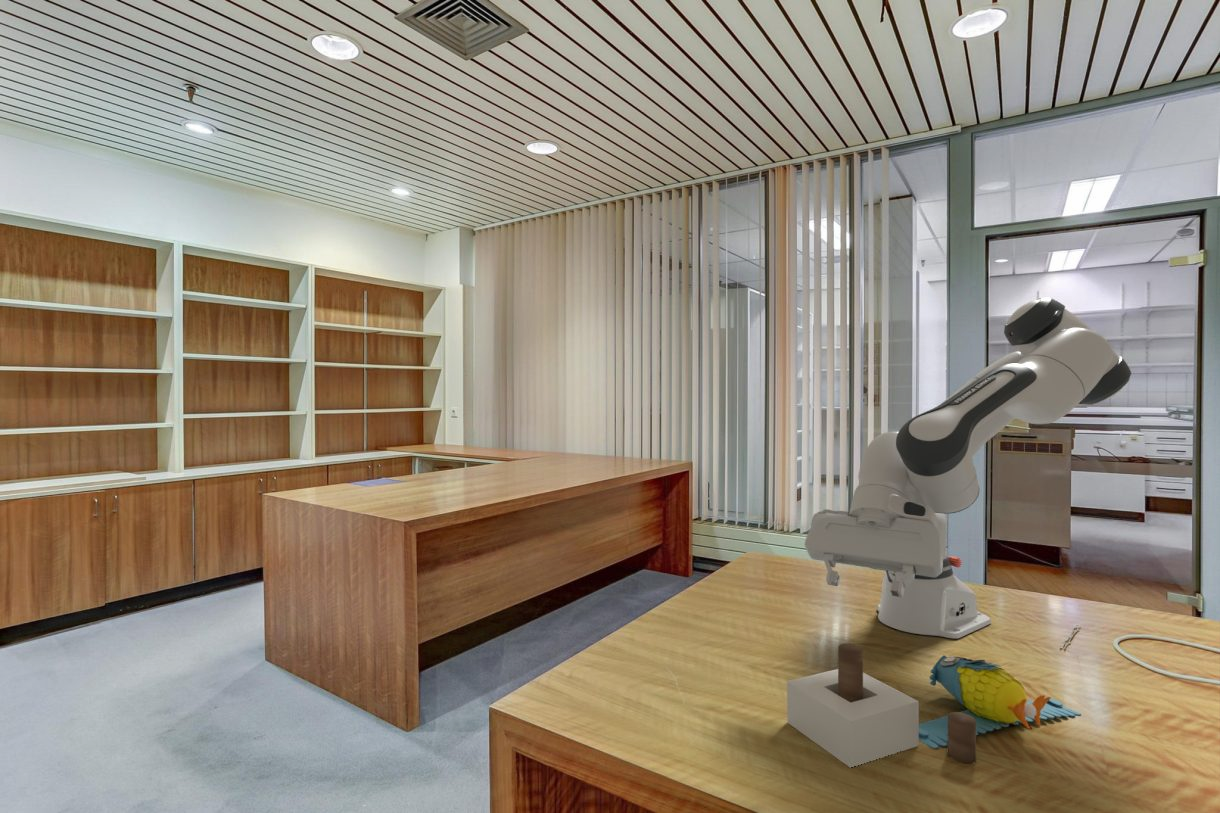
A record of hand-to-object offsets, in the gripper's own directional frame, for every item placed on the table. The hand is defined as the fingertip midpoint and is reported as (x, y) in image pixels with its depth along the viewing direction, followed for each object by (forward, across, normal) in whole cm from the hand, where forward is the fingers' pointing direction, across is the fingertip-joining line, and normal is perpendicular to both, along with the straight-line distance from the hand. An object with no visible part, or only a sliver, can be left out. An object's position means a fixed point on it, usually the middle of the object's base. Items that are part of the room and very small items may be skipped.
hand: (863, 589), depth 94 cm
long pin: (+20, +1, +5) cm, 20 cm away
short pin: (+18, +14, +7) cm, 24 cm away
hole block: (+20, +1, +5) cm, 20 cm away
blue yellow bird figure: (+9, +16, +17) cm, 25 cm away
